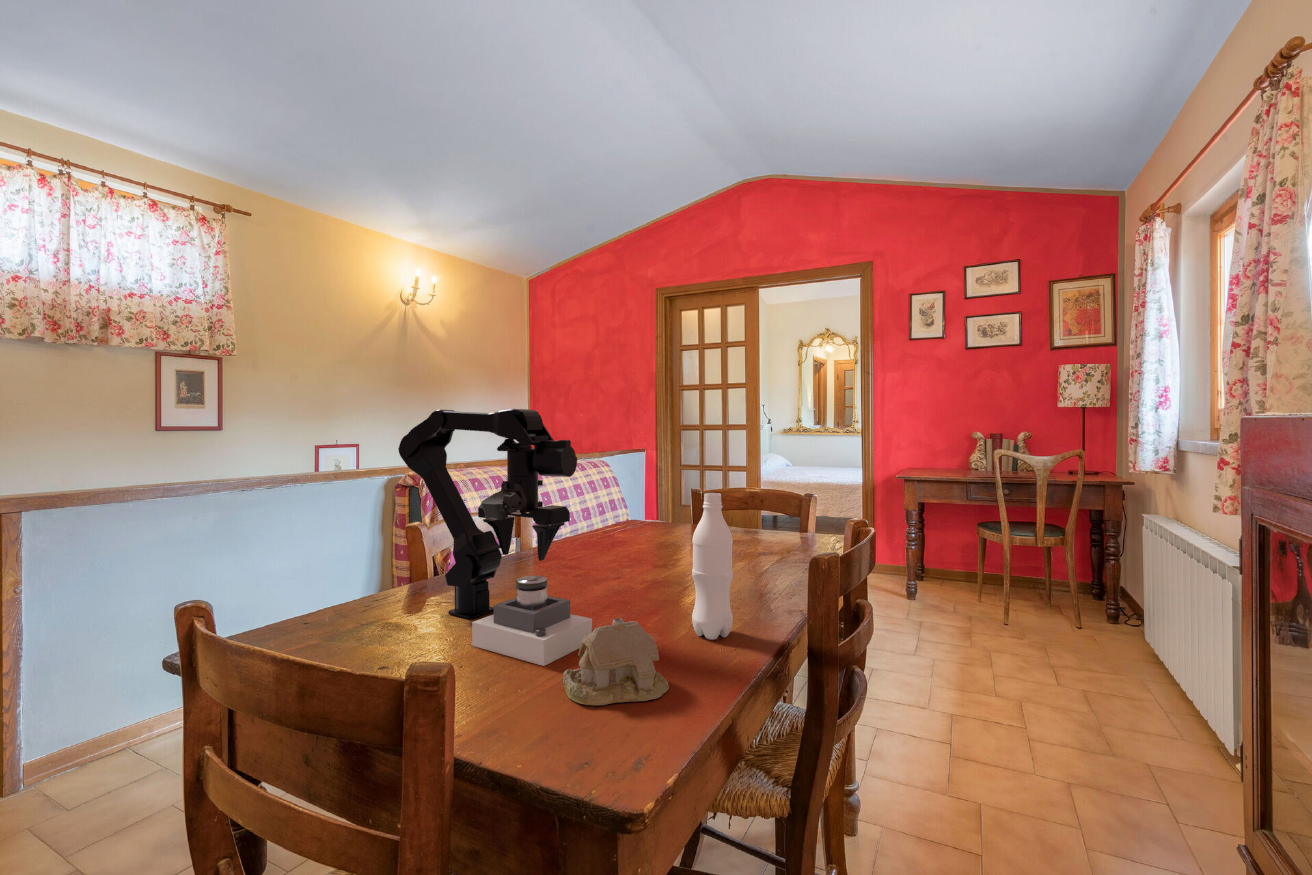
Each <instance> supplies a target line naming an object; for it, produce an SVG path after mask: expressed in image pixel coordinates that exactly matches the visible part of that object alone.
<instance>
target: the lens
mask: <svg viewBox="0 0 1312 875" xmlns="http://www.w3.org/2000/svg"><path fill="white" fill-rule="evenodd" d="M515 586H516V588H515V589H516V598H517V608H521V609H526V610H530V611H535V610H538V609H540V608H543V607H546V606H547V596H548V577H546V576H544V575H526V576H521V577H519V578H517V579H516V581H515Z"/></svg>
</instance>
